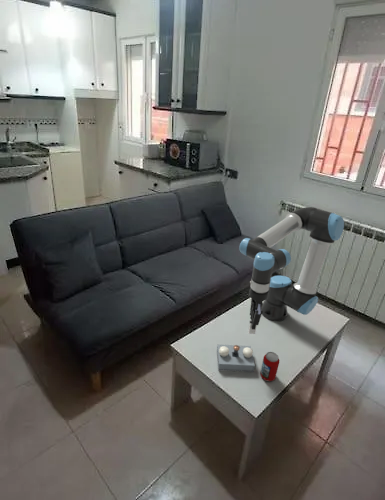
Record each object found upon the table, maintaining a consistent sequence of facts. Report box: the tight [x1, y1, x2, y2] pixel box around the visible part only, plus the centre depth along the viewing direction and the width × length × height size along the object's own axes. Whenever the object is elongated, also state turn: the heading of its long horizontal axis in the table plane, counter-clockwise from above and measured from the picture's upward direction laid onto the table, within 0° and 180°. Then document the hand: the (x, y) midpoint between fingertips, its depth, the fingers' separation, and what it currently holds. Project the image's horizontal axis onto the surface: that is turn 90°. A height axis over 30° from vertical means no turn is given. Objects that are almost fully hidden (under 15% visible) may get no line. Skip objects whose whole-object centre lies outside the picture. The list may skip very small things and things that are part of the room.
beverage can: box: [260, 351, 280, 382], centre depth 135 cm, size 7×7×12 cm
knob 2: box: [243, 347, 254, 358], centre depth 143 cm, size 4×4×5 cm
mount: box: [216, 344, 256, 373], centre depth 144 cm, size 16×12×4 cm
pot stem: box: [233, 344, 240, 355], centre depth 142 cm, size 3×3×4 cm
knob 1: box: [219, 346, 229, 357], centre depth 143 cm, size 4×4×5 cm
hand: (251, 332), depth 137 cm, fingers closed
